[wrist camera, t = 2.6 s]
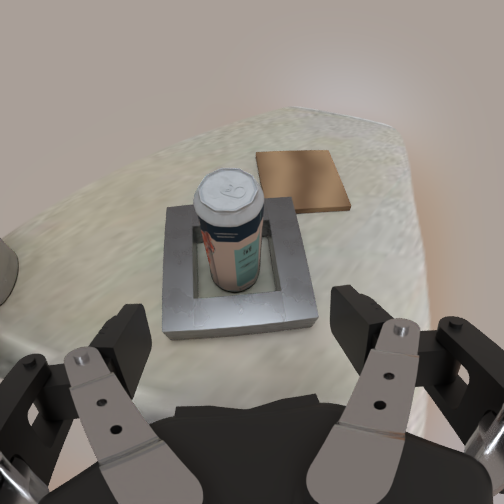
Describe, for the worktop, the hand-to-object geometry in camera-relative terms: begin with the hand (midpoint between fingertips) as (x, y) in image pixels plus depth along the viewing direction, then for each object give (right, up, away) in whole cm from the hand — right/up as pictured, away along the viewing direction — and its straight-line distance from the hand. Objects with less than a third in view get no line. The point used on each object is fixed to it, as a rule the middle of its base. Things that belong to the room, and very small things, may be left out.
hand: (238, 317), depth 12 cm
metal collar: (-1, +1, +17) cm, 17 cm away
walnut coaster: (+7, +12, +23) cm, 27 cm away
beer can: (-1, +1, +17) cm, 17 cm away
